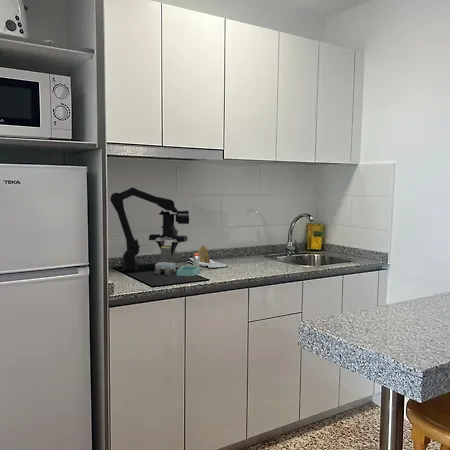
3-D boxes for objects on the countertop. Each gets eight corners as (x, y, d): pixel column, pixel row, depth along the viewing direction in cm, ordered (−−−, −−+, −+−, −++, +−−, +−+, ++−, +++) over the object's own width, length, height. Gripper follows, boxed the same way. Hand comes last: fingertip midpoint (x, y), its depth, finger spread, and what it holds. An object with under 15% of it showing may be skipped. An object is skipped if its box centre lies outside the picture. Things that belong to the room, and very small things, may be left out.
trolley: (153, 275, 214) (153, 264, 214) (161, 271, 224) (161, 260, 223) (169, 276, 212) (169, 265, 212) (177, 272, 222) (177, 261, 221)
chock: (160, 257, 224) (160, 247, 224) (166, 255, 232) (166, 245, 231) (169, 258, 223) (169, 247, 222) (175, 255, 231) (175, 245, 230)
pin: (192, 269, 228) (192, 254, 227) (194, 268, 230) (194, 253, 230) (198, 270, 227) (198, 254, 226) (200, 269, 230) (200, 253, 229)
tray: (176, 276, 213) (176, 269, 213) (184, 272, 223) (184, 266, 223) (193, 277, 211) (193, 270, 211) (199, 273, 221) (200, 267, 221)
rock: (215, 261, 243) (212, 255, 252) (206, 249, 240) (203, 244, 250) (199, 273, 243) (196, 267, 252) (189, 261, 240) (187, 255, 249)
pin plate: (188, 270, 226) (188, 270, 226) (192, 268, 232) (192, 268, 232) (200, 271, 225) (200, 270, 225) (203, 269, 231) (203, 268, 231)
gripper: (191, 223, 231) (190, 253, 232) (157, 221, 236) (157, 251, 237) (183, 225, 220) (183, 257, 222) (148, 223, 225) (148, 254, 226)
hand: (168, 254), depth 227 cm, fingers closed on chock, 4 cm apart
